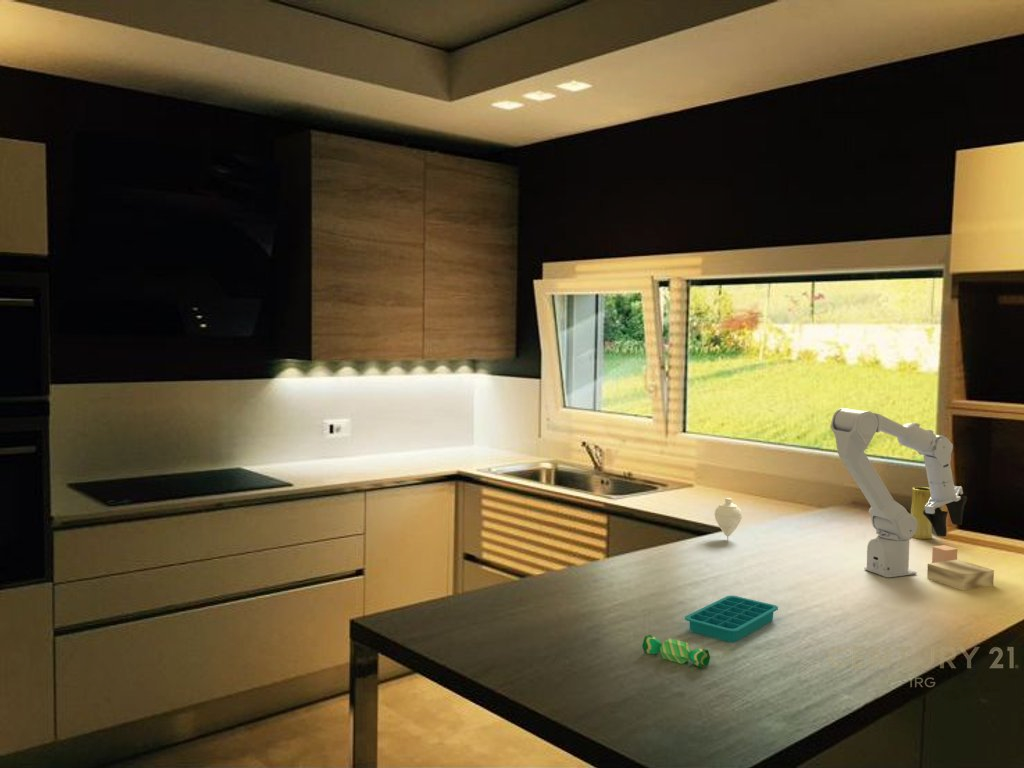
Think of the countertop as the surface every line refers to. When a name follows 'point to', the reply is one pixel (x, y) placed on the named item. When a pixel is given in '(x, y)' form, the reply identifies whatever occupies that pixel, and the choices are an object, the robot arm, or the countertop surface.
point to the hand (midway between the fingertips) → (949, 529)
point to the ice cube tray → (731, 618)
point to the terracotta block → (943, 553)
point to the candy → (676, 651)
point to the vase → (921, 512)
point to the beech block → (960, 574)
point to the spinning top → (728, 516)
